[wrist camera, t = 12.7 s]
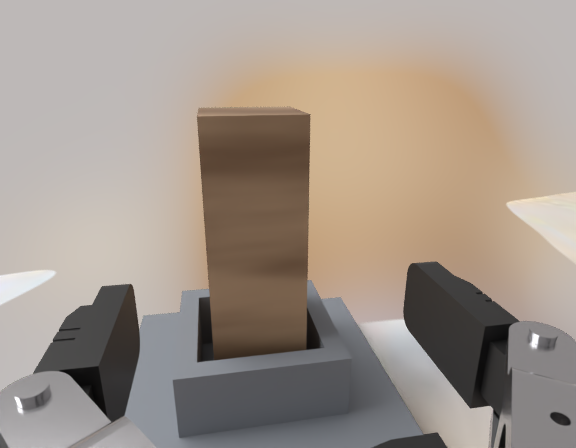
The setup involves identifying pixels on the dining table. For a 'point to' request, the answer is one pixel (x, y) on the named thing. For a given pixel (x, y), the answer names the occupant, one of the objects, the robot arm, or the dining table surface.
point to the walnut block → (256, 227)
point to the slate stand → (263, 386)
